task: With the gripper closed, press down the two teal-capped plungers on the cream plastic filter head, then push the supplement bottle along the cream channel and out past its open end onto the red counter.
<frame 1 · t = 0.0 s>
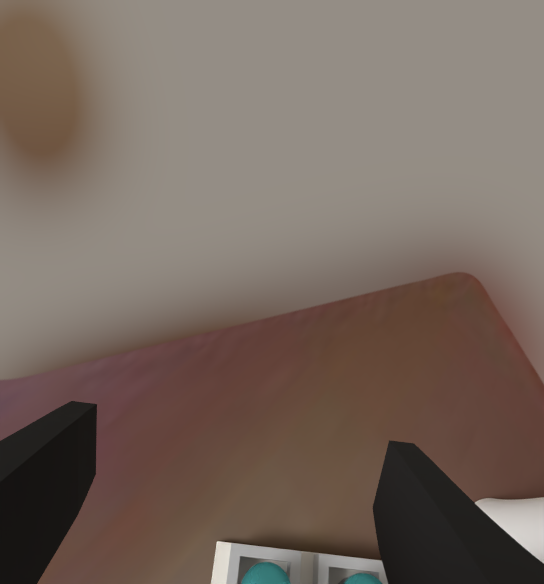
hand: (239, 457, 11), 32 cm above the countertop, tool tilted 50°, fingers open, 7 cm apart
cosmetic bottle: (495, 535, 40), on the countertop
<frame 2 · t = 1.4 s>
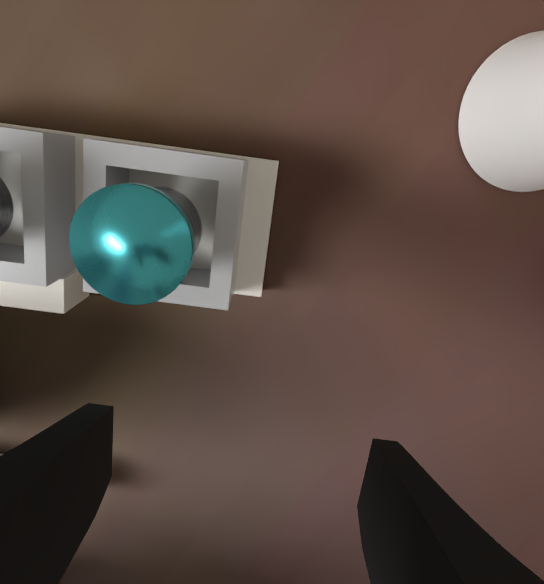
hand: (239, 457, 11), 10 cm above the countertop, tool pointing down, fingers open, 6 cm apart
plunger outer: (147, 236, 15), point 5 cm above the countertop, slide at 0.0 cm
cosmetic bottle: (528, 116, 18), on the countertop
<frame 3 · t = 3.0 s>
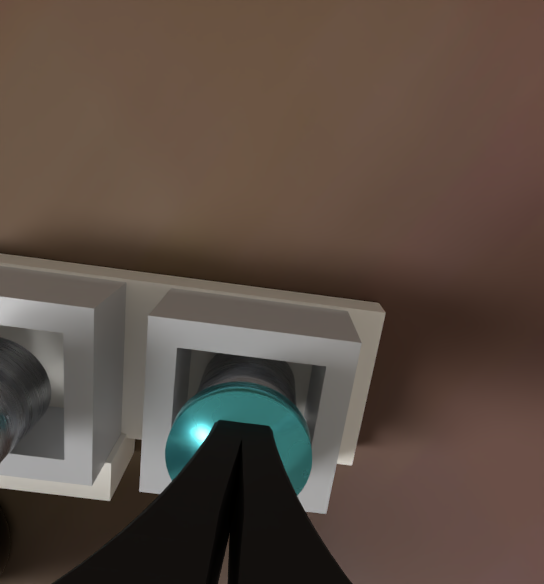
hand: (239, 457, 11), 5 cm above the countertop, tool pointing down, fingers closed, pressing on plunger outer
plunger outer: (244, 417, 12), point 3 cm above the countertop, slide at 1.7 cm, touching gripper
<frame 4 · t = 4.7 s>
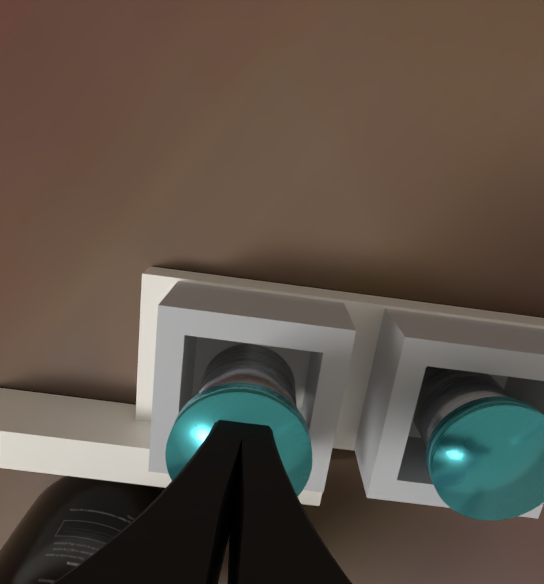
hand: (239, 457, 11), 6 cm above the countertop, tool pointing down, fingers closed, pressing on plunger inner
supplement bottle: (115, 524, 19), on the countertop
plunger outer: (471, 427, 14), point 3 cm above the countertop, slide at 1.8 cm
plunger inner: (244, 418, 12), point 4 cm above the countertop, slide at 0.8 cm, touching gripper
filter head: (159, 534, 19), on the countertop
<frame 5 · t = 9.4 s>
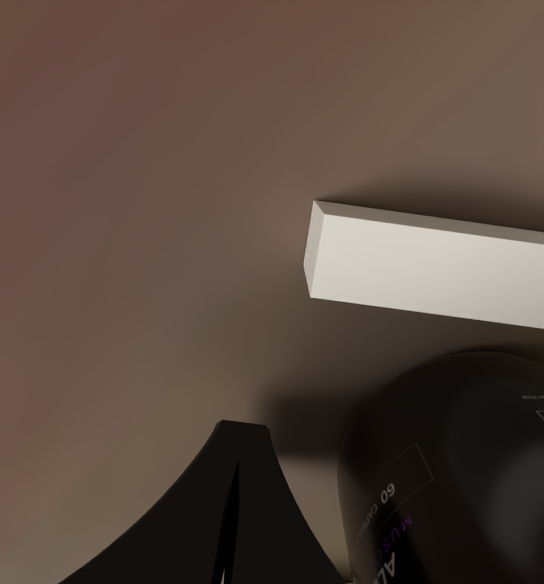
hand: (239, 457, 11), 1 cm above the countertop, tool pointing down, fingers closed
supplement bottle: (456, 454, 12), on the countertop, touching gripper
filter head: (532, 468, 12), on the countertop
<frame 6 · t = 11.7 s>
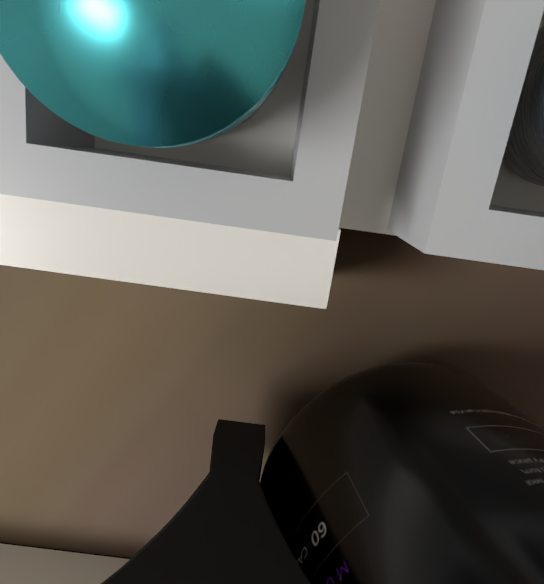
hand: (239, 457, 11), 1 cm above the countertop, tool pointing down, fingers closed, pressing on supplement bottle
supplement bottle: (378, 467, 12), on the countertop, touching gripper
plunger inner: (176, 19, 6), point 3 cm above the countertop, slide at 1.9 cm
filter head: (66, 414, 12), on the countertop
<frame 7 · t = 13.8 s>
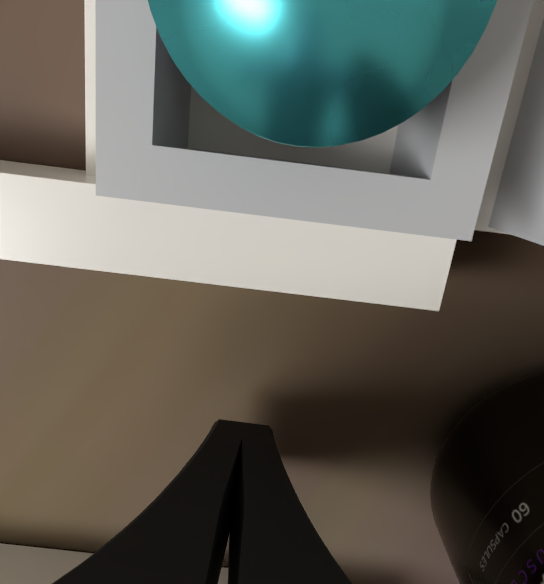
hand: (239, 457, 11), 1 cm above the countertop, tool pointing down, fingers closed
plunger inner: (310, 10, 6), point 3 cm above the countertop, slide at 1.9 cm
filter head: (141, 420, 12), on the countertop
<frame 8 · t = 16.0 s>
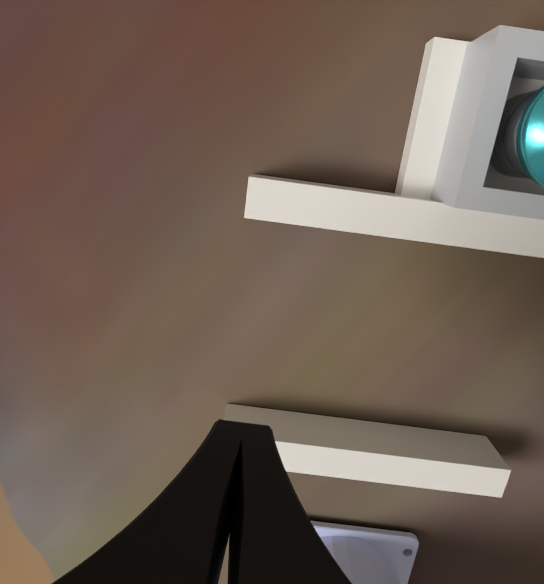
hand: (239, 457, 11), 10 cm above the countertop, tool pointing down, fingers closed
filter head: (387, 332, 20), on the countertop
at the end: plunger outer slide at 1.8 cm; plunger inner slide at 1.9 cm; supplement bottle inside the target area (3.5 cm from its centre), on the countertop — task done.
